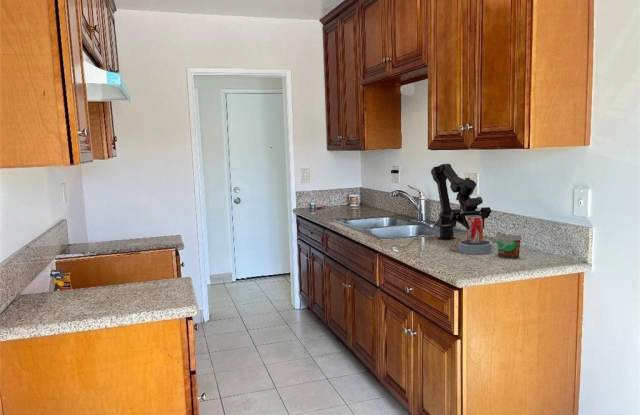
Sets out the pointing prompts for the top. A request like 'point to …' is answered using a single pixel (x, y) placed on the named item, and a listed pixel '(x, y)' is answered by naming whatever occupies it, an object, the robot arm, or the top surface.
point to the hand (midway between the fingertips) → (476, 228)
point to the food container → (508, 245)
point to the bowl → (475, 247)
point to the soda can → (475, 229)
